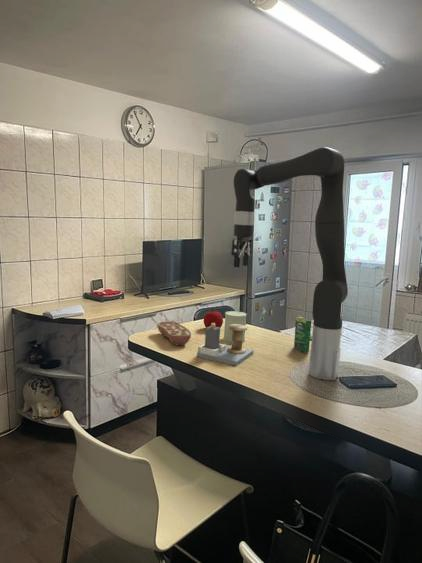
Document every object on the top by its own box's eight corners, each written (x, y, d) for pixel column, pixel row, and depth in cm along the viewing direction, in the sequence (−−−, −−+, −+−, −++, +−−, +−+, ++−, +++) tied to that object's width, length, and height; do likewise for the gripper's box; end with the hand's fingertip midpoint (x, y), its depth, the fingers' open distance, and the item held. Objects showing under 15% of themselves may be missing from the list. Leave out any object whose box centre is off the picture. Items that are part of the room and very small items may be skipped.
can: (248, 339, 178) (250, 312, 177) (238, 344, 171) (240, 316, 169) (230, 335, 183) (231, 309, 181) (219, 339, 175) (221, 312, 174)
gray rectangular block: (218, 350, 156) (220, 323, 154) (214, 353, 152) (215, 325, 151) (209, 348, 158) (210, 321, 156) (204, 351, 154) (206, 323, 152)
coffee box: (292, 347, 171) (295, 316, 169) (299, 346, 172) (301, 316, 170) (302, 353, 164) (305, 321, 162) (309, 352, 165) (312, 320, 163)
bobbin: (248, 350, 158) (250, 326, 157) (241, 355, 152) (243, 329, 151) (231, 346, 161) (233, 323, 160) (224, 351, 155) (225, 326, 154)
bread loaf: (154, 333, 180) (154, 322, 180) (175, 331, 185) (176, 320, 184) (172, 349, 160) (172, 336, 159) (195, 347, 164) (196, 334, 163)
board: (253, 353, 159) (253, 345, 159) (236, 365, 145) (237, 356, 145) (216, 346, 166) (216, 337, 166) (196, 356, 152) (197, 347, 152)
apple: (215, 333, 185) (216, 311, 184) (198, 329, 190) (200, 308, 189) (226, 329, 193) (227, 308, 192) (209, 325, 198) (211, 305, 196)
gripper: (245, 224, 148) (242, 268, 151) (260, 224, 161) (256, 266, 163) (227, 222, 152) (224, 266, 154) (242, 223, 164) (239, 264, 167)
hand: (241, 266), depth 159 cm, fingers open, 8 cm apart
